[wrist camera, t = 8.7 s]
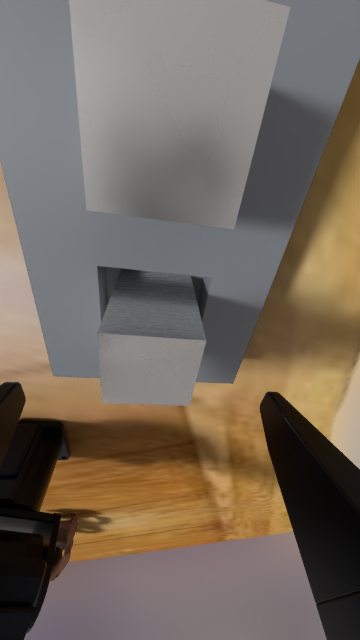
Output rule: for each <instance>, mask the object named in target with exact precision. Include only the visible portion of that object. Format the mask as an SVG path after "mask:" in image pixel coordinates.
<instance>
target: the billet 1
mask: <svg viewBox="0 0 360 640" xmlns="http://www.w3.org/2000/svg"><path fill="white" fill-rule="evenodd" d="M69 7H70V19H71V31H72V43H73V55H74V67H75V79H76V91H77V104H78V116H79V128H80V140H81V152H82V164H83V176H84V188H85V200H86V210H87V211H95V212H103V213H110V214H118V215H126V216H134V217H141V218H149V219H157V220H164V221H172V222H180V223H188V224H195V225H203V226H211V227H218V228H226V229H234V228H235V224H236V220H237V216H238V212H239V208H240V204H241V200H242V196H243V193H244V189H245V185H246V181H247V177H248V173H249V169H250V165H251V161H252V157H253V153H254V149H255V145H256V141H257V137H258V133H259V130H260V126H261V122H262V118H263V114H264V110H265V106H266V102H267V98H268V94H269V90H270V86H271V82H272V78H273V74H274V71H275V67H276V63H277V59H278V55H279V51H280V47H281V43H282V39H283V35H284V31H285V27H286V23H287V19H288V15H289V12H290V8H291V7H288V6H285V5H281V4H277V3H273V2H270V1H266V0H69Z"/></svg>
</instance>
